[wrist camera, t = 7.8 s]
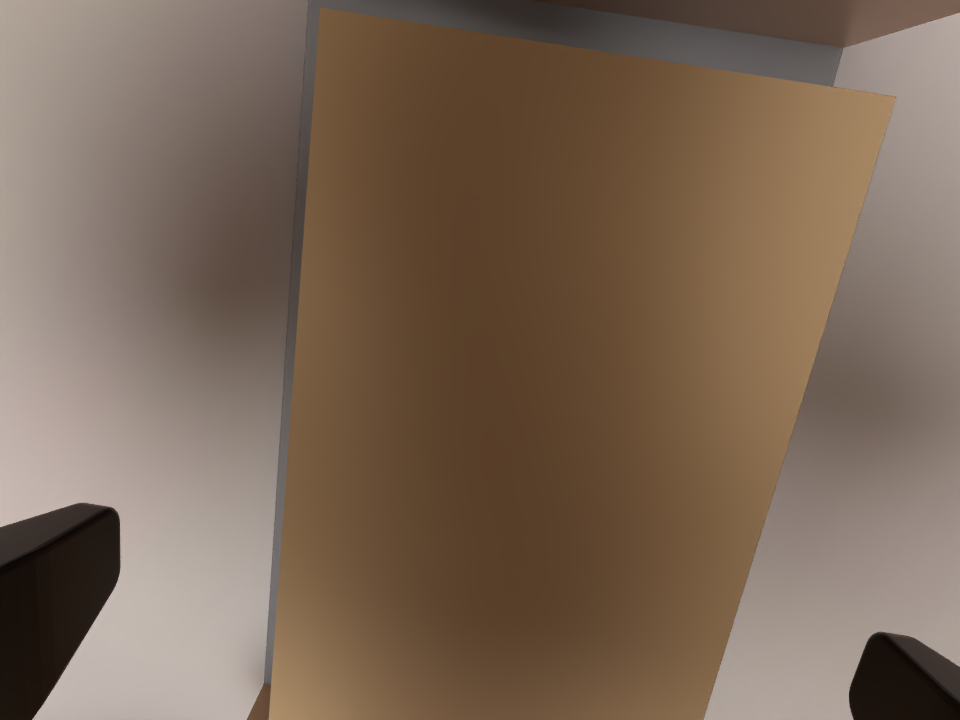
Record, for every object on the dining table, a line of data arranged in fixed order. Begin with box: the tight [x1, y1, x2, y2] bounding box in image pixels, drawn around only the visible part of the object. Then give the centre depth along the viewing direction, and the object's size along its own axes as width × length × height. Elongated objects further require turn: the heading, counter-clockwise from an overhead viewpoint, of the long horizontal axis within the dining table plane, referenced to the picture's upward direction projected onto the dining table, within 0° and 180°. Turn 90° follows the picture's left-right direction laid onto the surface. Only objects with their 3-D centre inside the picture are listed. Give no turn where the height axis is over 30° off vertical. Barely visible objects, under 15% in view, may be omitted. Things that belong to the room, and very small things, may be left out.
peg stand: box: [247, 0, 960, 720], centre depth 12 cm, size 9×17×5 cm, turn 172°
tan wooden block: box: [269, 8, 896, 720], centre depth 10 cm, size 5×12×4 cm, turn 172°
